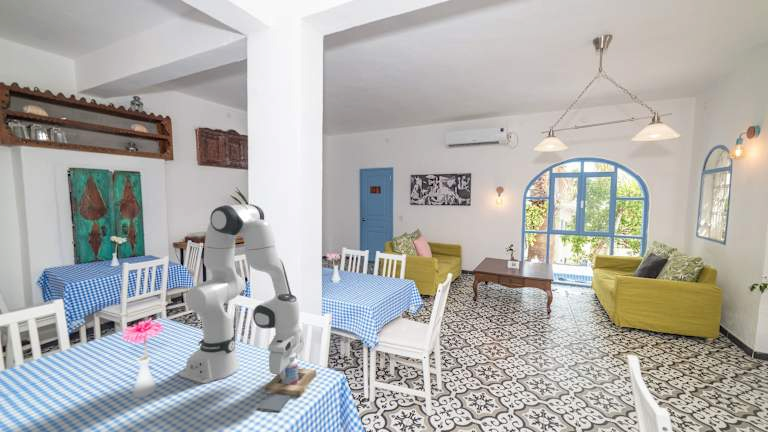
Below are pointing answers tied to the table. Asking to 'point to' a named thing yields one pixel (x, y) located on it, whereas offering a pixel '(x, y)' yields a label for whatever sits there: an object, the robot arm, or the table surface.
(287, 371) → the pill bottle
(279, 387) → the holder
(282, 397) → the coaster
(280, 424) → the table surface
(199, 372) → the robot arm
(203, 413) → the table surface
